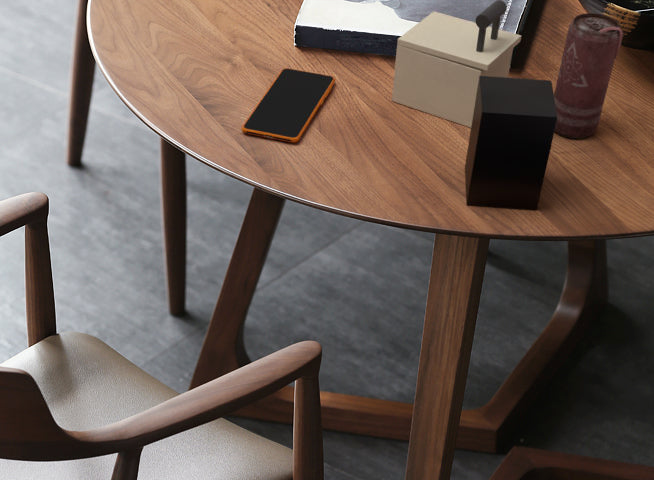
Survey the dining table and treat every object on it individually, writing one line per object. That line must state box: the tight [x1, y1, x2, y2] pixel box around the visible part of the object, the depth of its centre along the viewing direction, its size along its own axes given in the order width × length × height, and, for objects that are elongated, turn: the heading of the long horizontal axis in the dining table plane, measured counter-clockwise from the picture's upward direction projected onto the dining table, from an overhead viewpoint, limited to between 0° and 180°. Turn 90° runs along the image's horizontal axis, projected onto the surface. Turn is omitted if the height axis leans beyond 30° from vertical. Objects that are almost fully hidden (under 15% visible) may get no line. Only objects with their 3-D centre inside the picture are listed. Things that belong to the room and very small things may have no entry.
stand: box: [464, 76, 557, 211], centre depth 121 cm, size 8×8×12 cm
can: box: [553, 12, 624, 140], centre depth 131 cm, size 6×6×14 cm
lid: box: [396, 0, 522, 71], centre depth 133 cm, size 12×10×6 cm
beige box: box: [391, 44, 514, 129], centre depth 138 cm, size 12×10×8 cm
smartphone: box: [241, 67, 336, 143], centre depth 137 cm, size 8×17×1 cm, turn 162°
